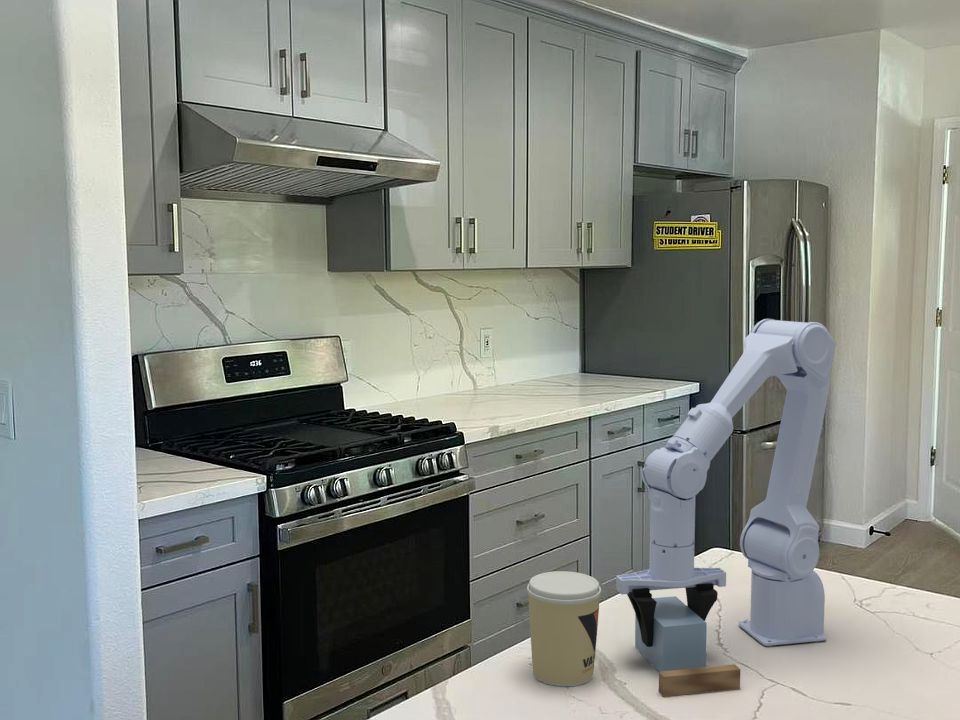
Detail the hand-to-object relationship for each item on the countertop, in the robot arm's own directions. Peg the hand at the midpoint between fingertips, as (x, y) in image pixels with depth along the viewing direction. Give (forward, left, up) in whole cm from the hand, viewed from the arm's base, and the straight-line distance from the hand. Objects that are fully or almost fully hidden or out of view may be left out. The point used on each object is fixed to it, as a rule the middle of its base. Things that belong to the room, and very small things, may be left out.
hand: (670, 641), depth 125 cm
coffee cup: (+15, +1, -3) cm, 15 cm away
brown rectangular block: (0, +9, -2) cm, 9 cm away
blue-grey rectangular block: (0, 0, -2) cm, 3 cm away
